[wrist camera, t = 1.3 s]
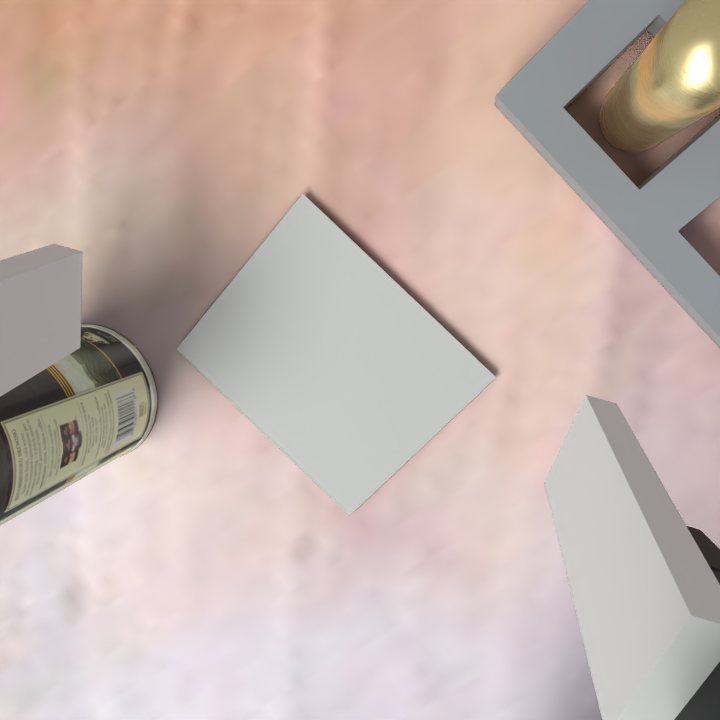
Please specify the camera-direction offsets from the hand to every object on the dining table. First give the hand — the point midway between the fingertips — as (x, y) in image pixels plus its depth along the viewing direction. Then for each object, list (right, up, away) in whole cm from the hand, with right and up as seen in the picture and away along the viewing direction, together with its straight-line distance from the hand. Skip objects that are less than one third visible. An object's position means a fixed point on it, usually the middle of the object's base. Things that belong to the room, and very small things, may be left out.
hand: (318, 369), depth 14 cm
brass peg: (+16, +14, +17) cm, 27 cm away
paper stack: (+5, +1, +22) cm, 23 cm away
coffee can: (-19, -2, +27) cm, 33 cm away
